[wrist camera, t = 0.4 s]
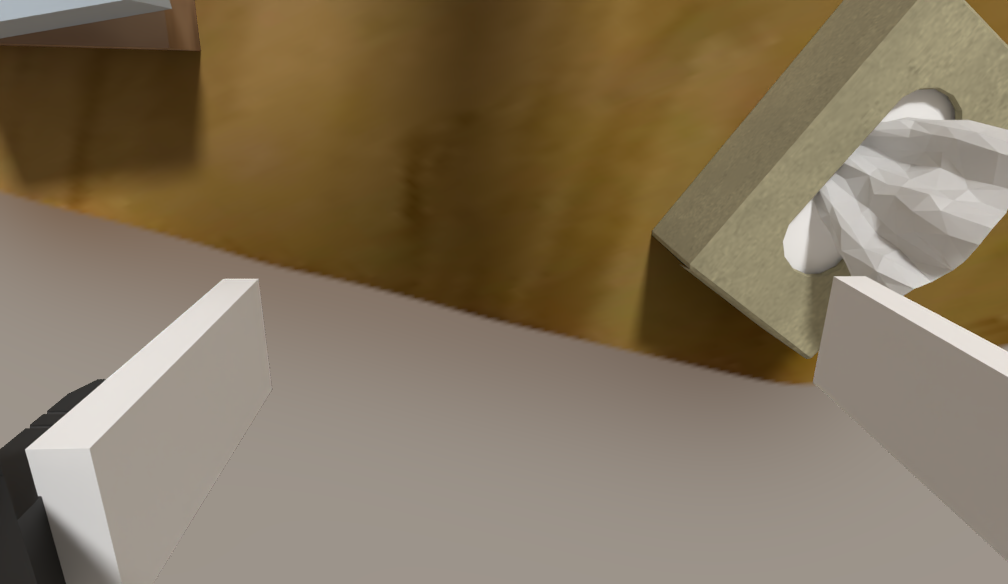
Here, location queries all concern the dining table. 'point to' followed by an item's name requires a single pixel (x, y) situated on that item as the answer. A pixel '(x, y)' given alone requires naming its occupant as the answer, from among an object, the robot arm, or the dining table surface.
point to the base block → (125, 32)
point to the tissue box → (854, 167)
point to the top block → (67, 13)
